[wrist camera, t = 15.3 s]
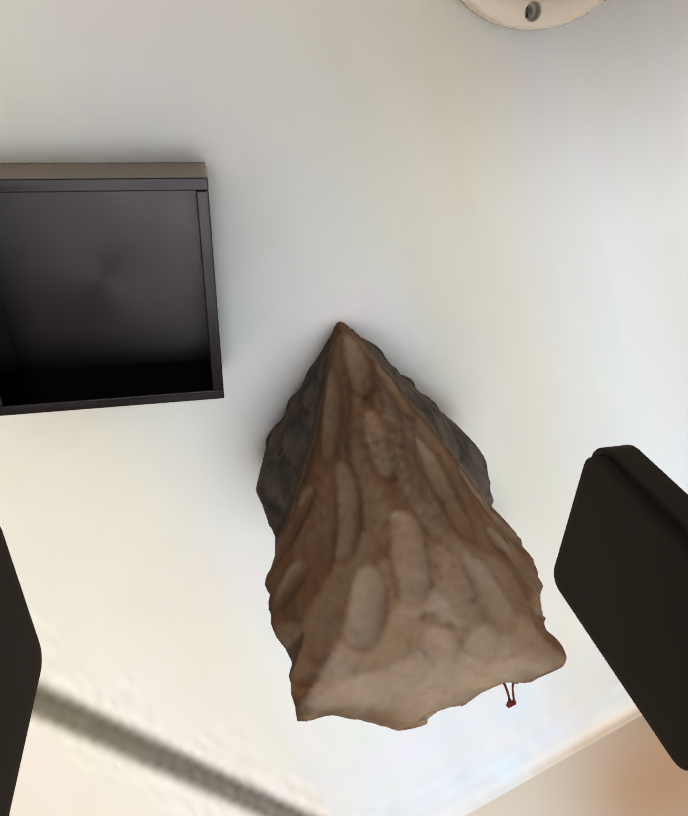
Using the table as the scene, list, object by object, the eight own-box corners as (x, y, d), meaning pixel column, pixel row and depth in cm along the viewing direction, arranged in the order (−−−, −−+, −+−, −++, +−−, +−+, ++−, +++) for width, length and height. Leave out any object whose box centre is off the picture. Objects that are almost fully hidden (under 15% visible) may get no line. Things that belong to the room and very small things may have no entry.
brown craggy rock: (462, 418, 46) (624, 643, 29) (342, 526, 48) (426, 787, 32) (345, 313, 39) (466, 525, 23) (215, 446, 42) (237, 719, 25)
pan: (-47, 162, 31) (-78, 179, 27) (204, 161, 33) (207, 177, 30) (12, 379, 37) (-6, 416, 33) (220, 365, 39) (224, 398, 36)
